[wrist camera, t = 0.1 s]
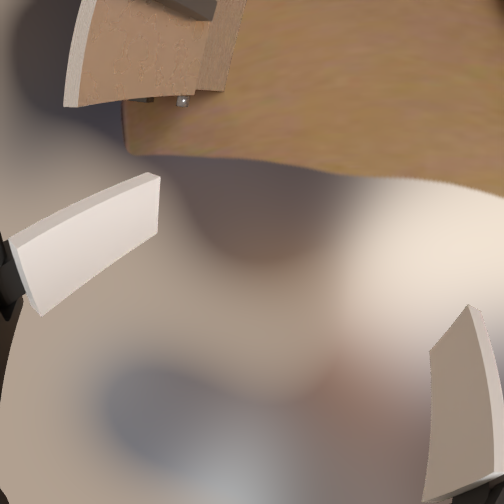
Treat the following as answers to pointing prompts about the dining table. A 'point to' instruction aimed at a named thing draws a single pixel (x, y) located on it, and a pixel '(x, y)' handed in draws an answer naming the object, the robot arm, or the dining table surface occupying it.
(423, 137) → the dining table surface
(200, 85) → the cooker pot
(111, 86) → the lid
